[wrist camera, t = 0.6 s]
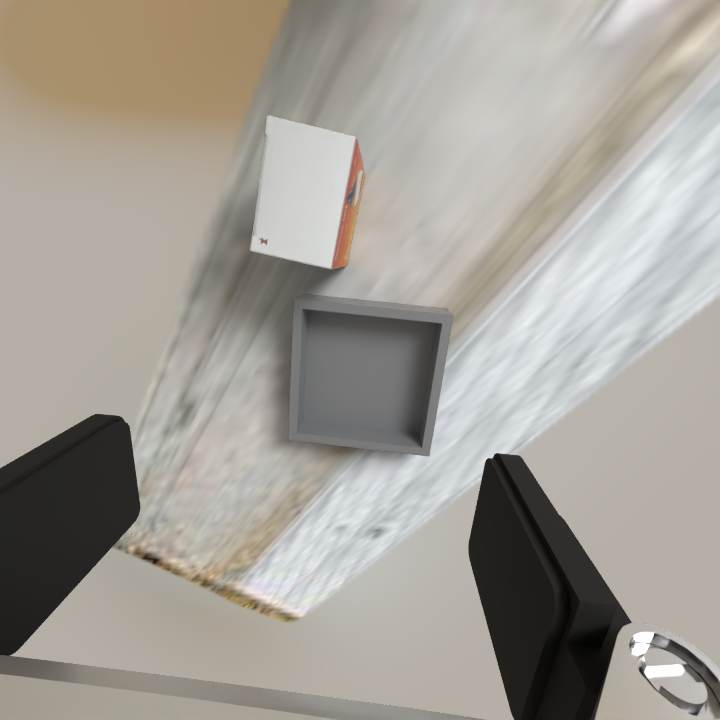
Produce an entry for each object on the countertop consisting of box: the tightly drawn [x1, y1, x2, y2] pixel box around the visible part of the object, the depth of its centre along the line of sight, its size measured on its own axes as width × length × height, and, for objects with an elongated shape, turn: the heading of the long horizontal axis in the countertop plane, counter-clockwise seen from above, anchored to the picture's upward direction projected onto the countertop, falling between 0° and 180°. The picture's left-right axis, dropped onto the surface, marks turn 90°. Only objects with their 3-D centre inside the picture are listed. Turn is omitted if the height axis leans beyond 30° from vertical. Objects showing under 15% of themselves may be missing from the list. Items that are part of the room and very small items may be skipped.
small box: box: [249, 115, 365, 270], centre depth 27 cm, size 8×6×10 cm
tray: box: [288, 294, 453, 456], centre depth 34 cm, size 14×14×4 cm
